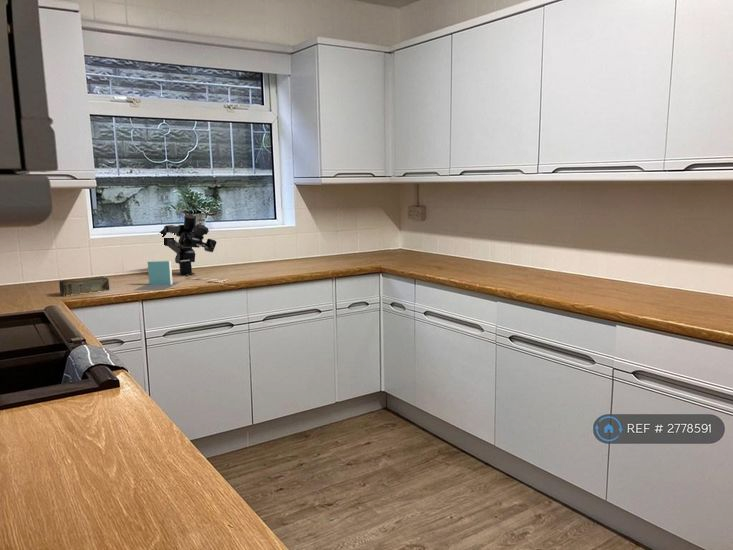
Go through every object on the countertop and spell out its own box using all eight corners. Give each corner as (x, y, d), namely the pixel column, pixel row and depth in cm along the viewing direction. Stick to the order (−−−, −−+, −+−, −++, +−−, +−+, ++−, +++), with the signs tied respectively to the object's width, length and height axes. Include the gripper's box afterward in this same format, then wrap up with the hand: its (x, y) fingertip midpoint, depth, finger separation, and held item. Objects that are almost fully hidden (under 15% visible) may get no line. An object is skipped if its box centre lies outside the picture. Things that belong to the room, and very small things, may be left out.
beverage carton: (110, 291, 261) (109, 277, 260) (63, 297, 250) (61, 282, 249) (105, 289, 268) (104, 274, 267) (59, 294, 256) (57, 280, 255)
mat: (151, 283, 280) (151, 282, 280) (180, 283, 279) (180, 282, 279) (133, 291, 260) (133, 290, 260) (164, 290, 259) (164, 289, 259)
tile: (151, 284, 275) (149, 260, 273) (172, 284, 275) (170, 260, 273) (149, 285, 272) (147, 261, 271) (170, 284, 272) (168, 261, 270)
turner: (182, 281, 285) (182, 278, 285) (191, 278, 292) (191, 276, 291) (219, 282, 277) (219, 280, 277) (228, 280, 284) (227, 278, 284)
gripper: (180, 218, 288) (193, 228, 277) (213, 226, 301) (227, 237, 291) (172, 239, 290) (185, 250, 279) (205, 246, 303) (219, 257, 292)
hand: (205, 248), depth 285 cm, fingers open, 9 cm apart
